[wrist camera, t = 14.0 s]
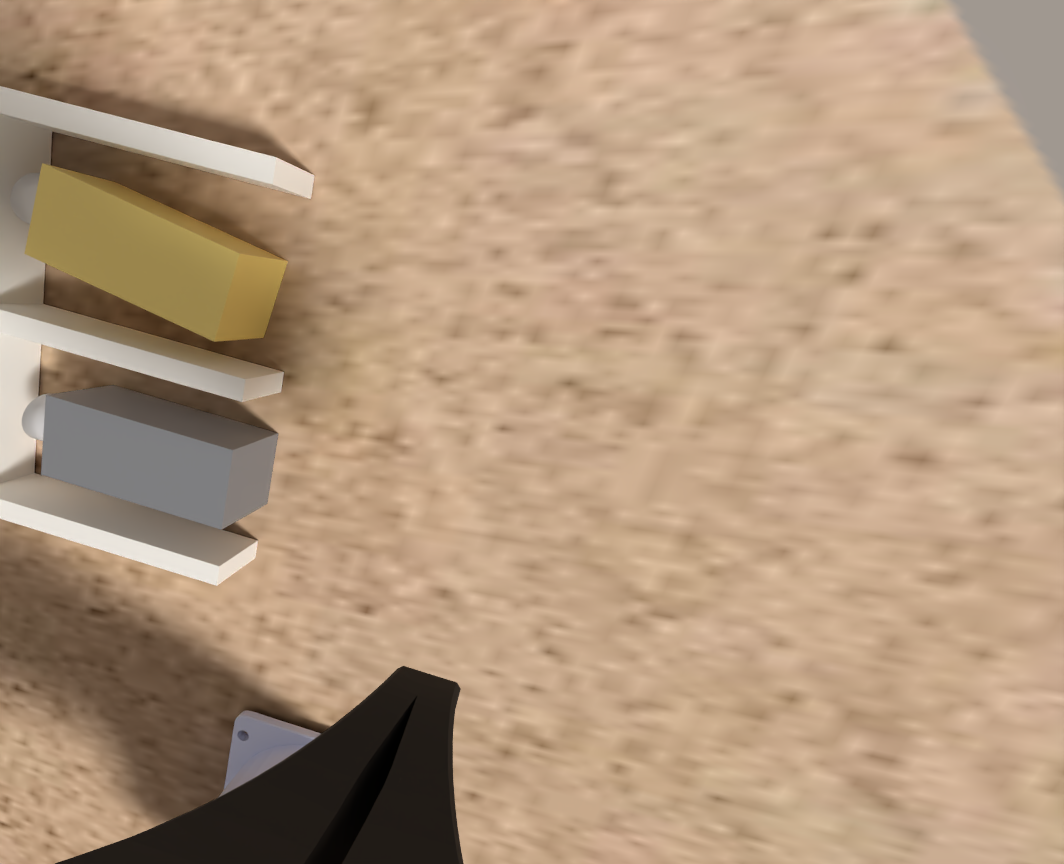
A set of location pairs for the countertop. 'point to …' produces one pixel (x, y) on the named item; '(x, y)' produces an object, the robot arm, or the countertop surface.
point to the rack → (109, 344)
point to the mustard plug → (148, 253)
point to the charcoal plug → (154, 452)
